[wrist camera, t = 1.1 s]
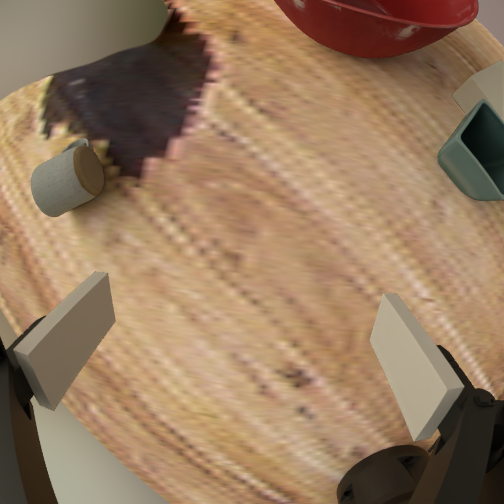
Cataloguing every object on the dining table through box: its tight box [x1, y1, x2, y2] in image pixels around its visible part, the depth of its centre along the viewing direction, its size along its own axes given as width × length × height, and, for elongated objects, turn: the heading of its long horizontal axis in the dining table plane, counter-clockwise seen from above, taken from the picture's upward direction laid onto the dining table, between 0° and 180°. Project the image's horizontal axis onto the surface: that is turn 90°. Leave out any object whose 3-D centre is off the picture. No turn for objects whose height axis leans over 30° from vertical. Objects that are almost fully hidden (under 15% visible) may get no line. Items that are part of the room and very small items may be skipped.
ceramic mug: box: [31, 138, 104, 217], centre depth 32 cm, size 11×8×8 cm
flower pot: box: [438, 99, 504, 201], centre depth 27 cm, size 9×9×9 cm
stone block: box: [452, 60, 504, 122], centre depth 27 cm, size 11×11×6 cm
